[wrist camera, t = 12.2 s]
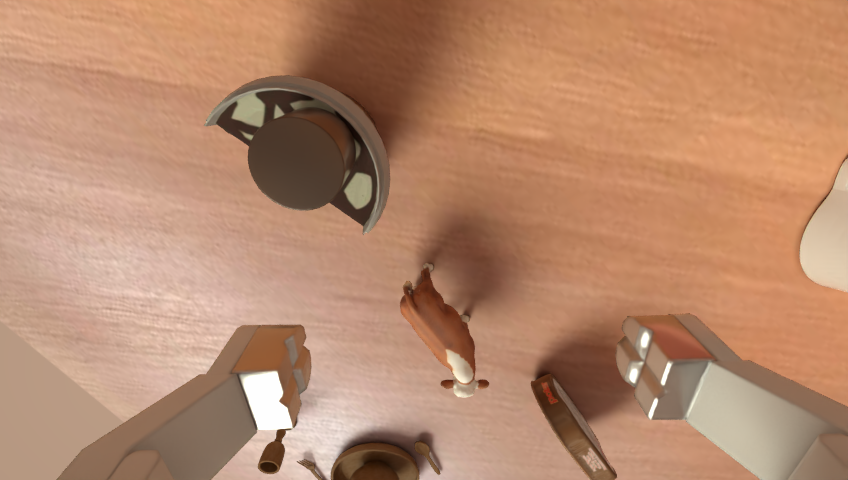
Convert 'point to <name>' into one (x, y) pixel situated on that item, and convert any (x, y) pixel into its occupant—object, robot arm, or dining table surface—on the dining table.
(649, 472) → the dining table surface
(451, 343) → the bull figurine
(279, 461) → the place setting
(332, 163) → the brown cylinder
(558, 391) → the tin
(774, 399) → the robot arm
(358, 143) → the food container
